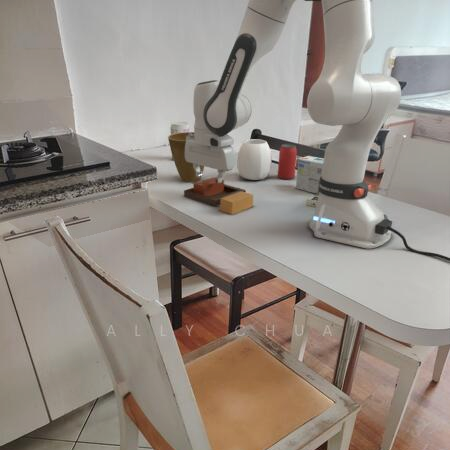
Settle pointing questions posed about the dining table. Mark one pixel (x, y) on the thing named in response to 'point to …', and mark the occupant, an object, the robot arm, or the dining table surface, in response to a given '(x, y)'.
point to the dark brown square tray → (213, 199)
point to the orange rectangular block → (236, 202)
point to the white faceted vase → (254, 159)
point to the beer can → (287, 161)
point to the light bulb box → (309, 173)
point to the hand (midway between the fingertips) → (208, 179)
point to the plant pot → (182, 157)
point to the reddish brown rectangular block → (208, 187)
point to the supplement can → (179, 128)
